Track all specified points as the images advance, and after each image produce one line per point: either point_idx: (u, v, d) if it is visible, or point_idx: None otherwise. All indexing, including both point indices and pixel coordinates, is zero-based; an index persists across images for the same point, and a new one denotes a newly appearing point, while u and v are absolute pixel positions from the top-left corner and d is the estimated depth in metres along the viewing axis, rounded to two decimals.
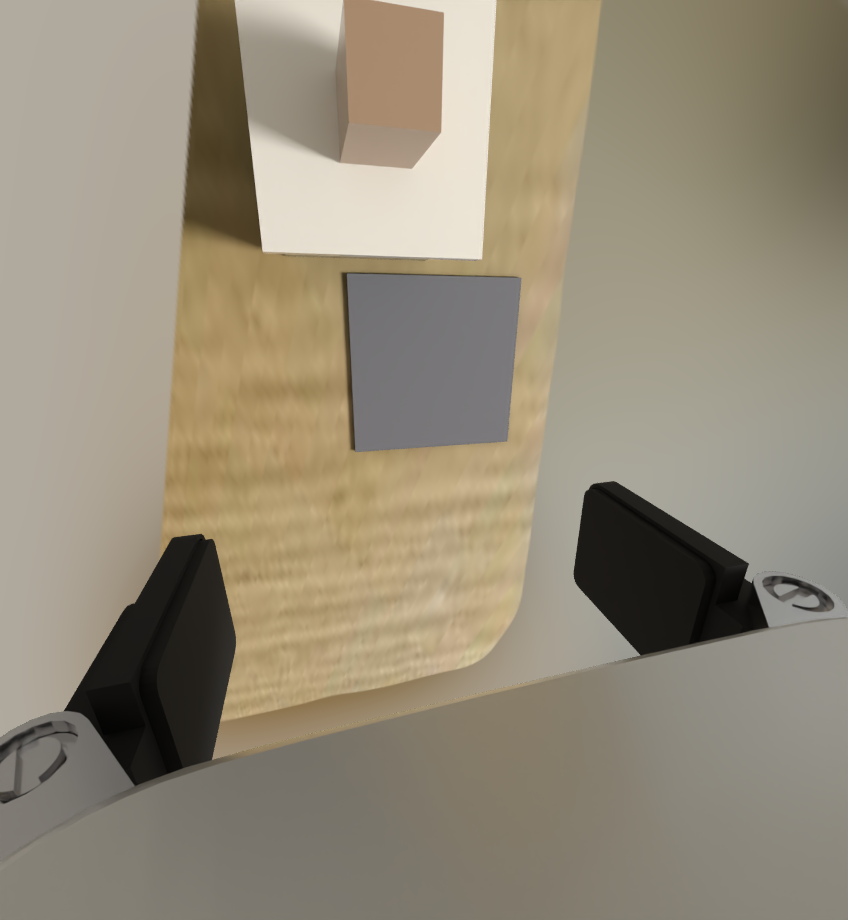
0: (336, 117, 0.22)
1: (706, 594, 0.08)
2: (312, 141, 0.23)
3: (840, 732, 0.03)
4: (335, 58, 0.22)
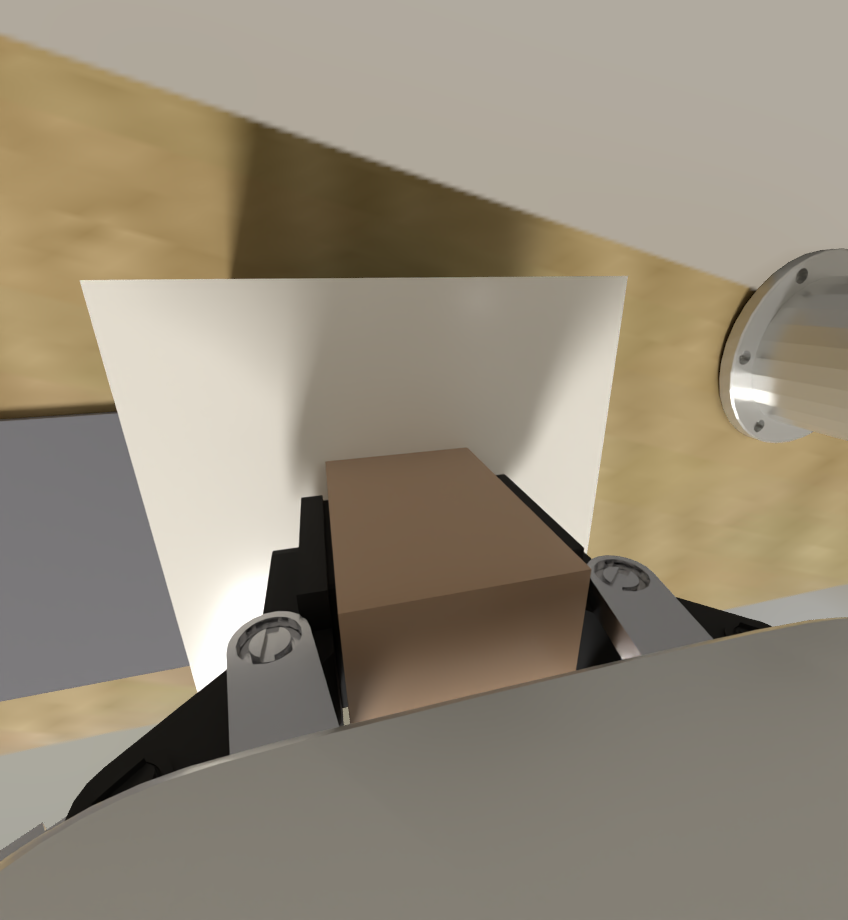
0: (399, 451, 0.12)
1: None
2: (353, 408, 0.11)
3: (840, 734, 0.03)
4: (482, 447, 0.12)
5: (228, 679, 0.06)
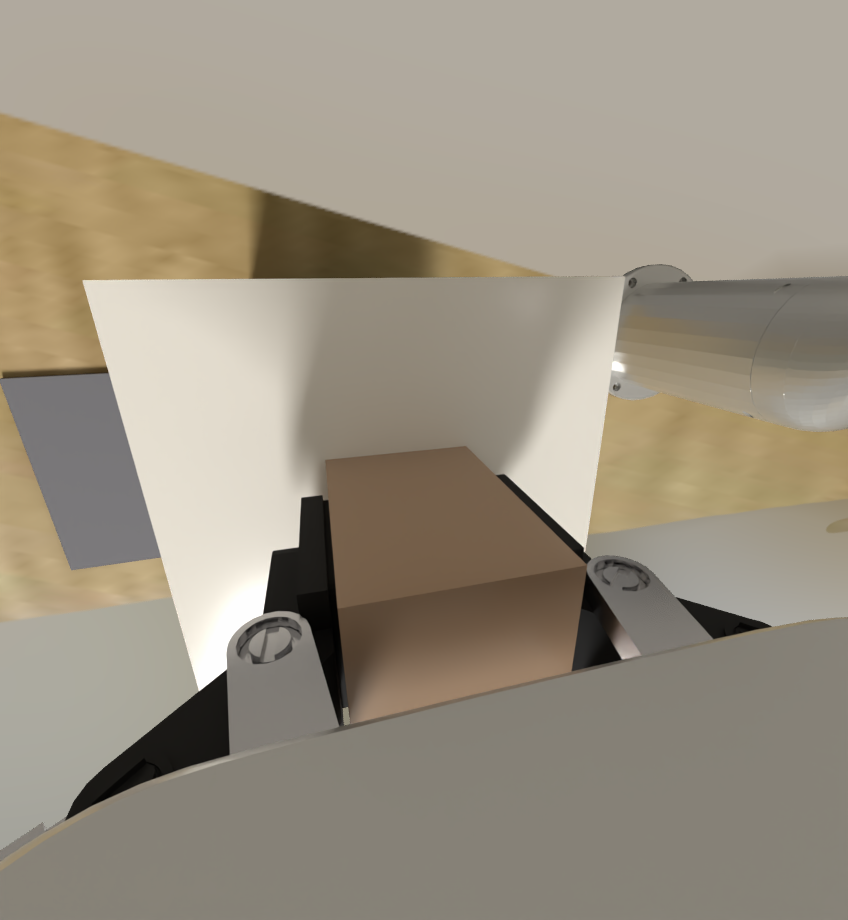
0: (398, 450, 0.12)
1: None
2: (353, 407, 0.11)
3: (840, 734, 0.03)
4: (481, 445, 0.12)
5: (228, 679, 0.06)
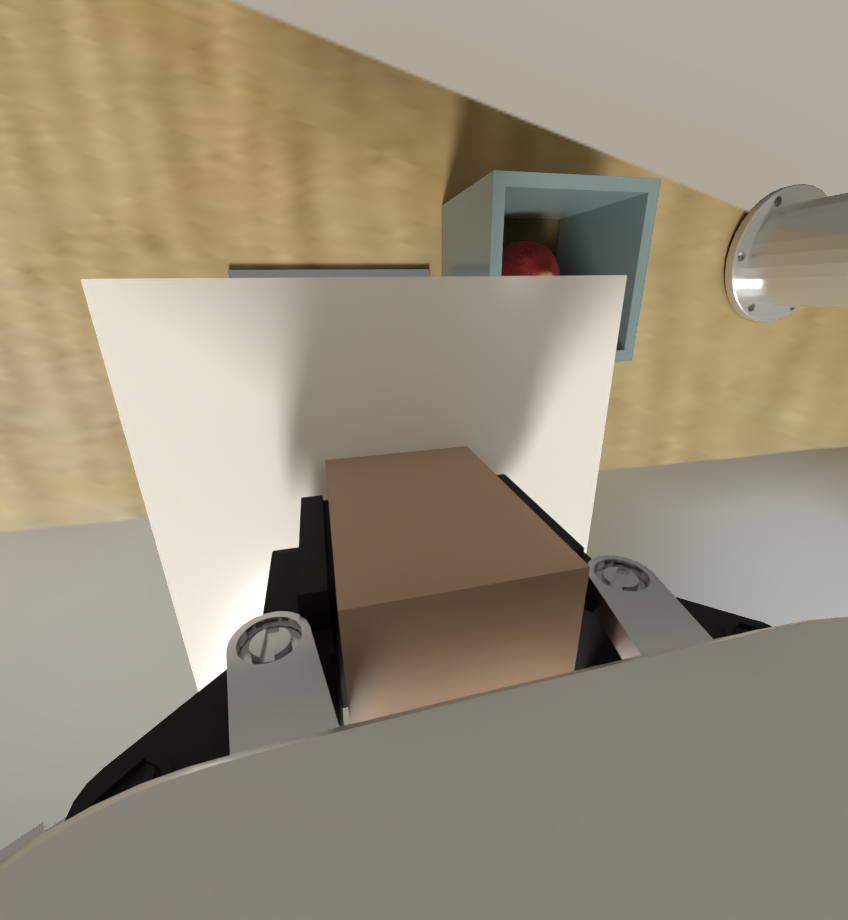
0: (399, 450, 0.12)
1: None
2: (353, 407, 0.11)
3: (840, 734, 0.03)
4: (481, 445, 0.12)
5: (228, 679, 0.06)
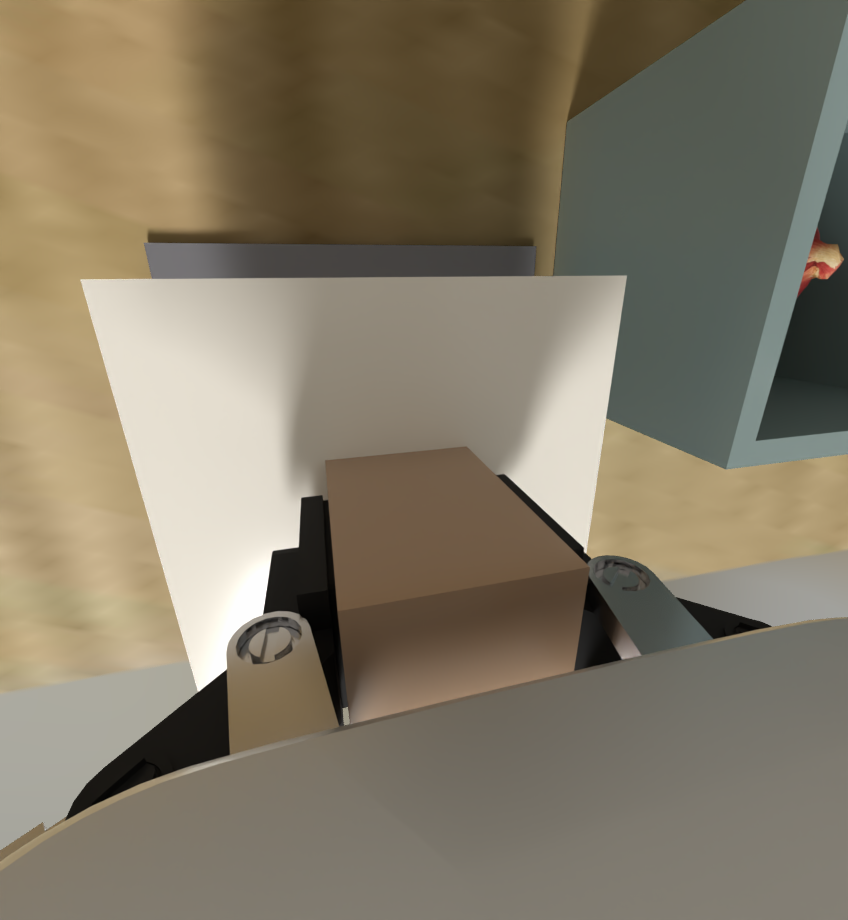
0: (398, 450, 0.12)
1: None
2: (353, 407, 0.11)
3: (840, 734, 0.03)
4: (481, 446, 0.12)
5: (228, 679, 0.06)
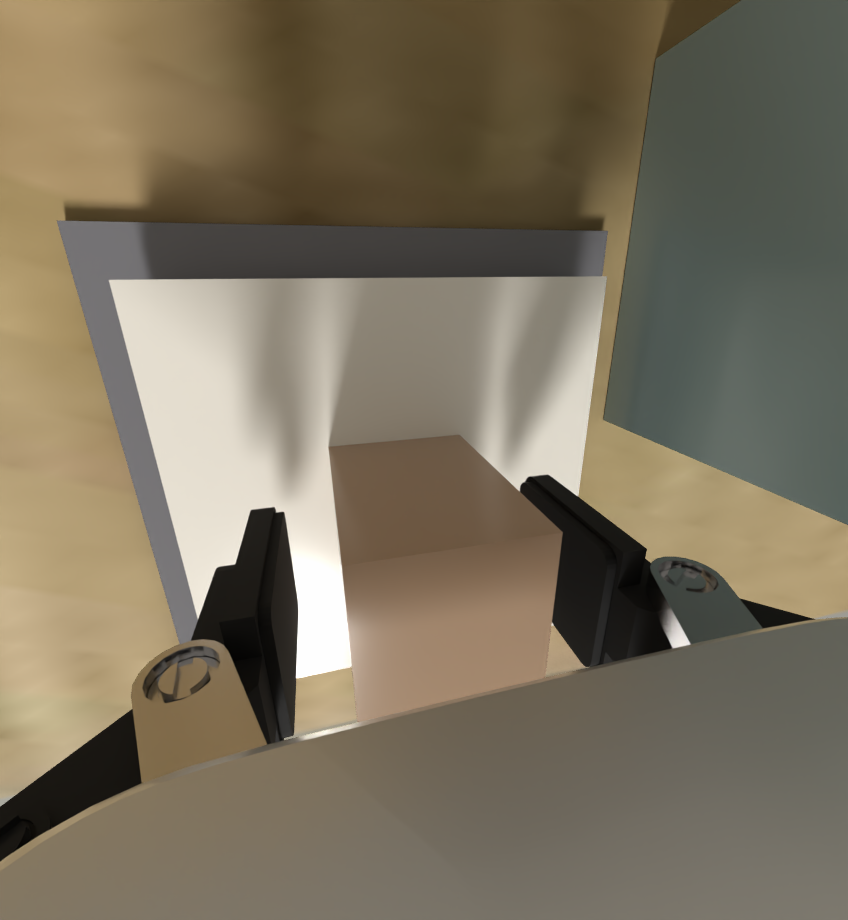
0: (396, 438, 0.13)
1: (609, 578, 0.08)
2: (354, 397, 0.12)
3: (840, 732, 0.03)
4: (473, 434, 0.13)
5: (136, 724, 0.05)
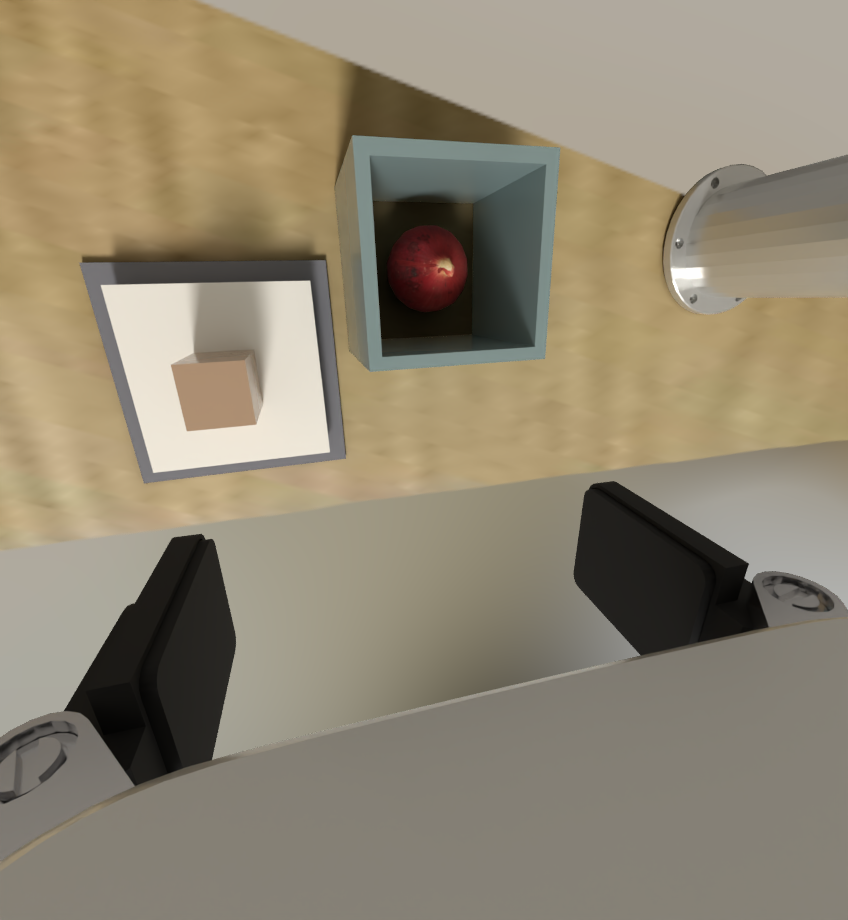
0: (224, 350, 0.30)
1: (706, 594, 0.08)
2: (202, 331, 0.30)
3: (840, 734, 0.03)
4: (260, 349, 0.31)
5: None
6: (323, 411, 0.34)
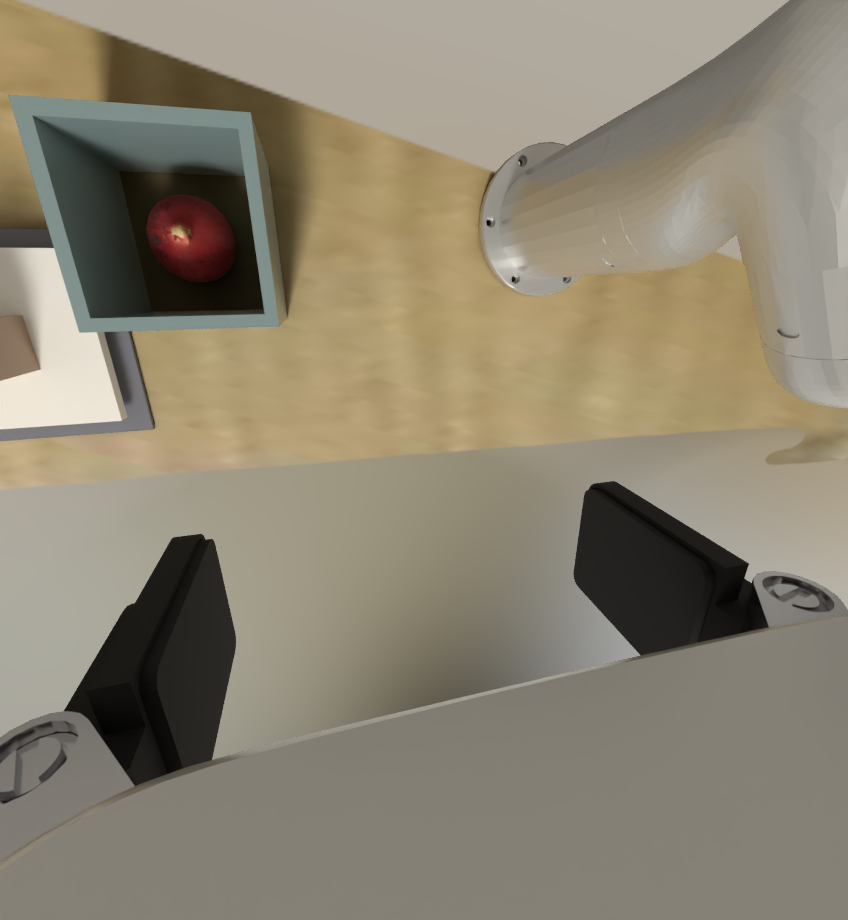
0: None
1: (706, 594, 0.08)
2: None
3: (840, 732, 0.03)
4: (29, 315, 0.32)
5: None
6: (108, 379, 0.34)
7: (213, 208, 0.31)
